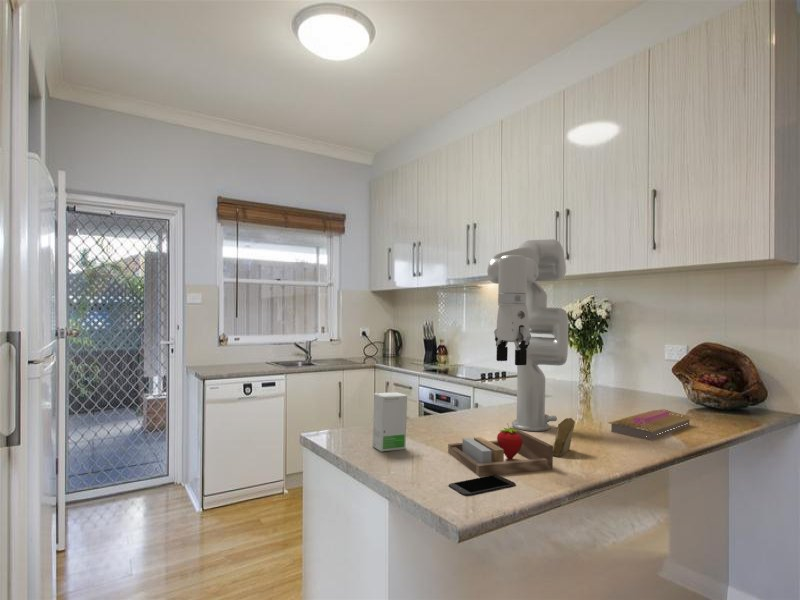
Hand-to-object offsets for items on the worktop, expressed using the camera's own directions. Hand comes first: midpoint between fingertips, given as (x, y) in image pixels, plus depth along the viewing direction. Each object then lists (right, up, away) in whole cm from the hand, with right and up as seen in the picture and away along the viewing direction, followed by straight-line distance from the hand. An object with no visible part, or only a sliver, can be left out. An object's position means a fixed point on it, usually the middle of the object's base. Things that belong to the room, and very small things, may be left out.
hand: (510, 362), depth 127 cm
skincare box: (-34, -26, +8) cm, 43 cm away
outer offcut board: (-10, -26, -3) cm, 28 cm away
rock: (+16, -27, +8) cm, 32 cm away
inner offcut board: (-7, -26, -2) cm, 27 cm away
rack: (-4, -26, -2) cm, 27 cm away
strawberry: (-1, -27, -1) cm, 26 cm away
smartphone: (-11, -26, -20) cm, 35 cm away
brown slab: (+59, -29, +37) cm, 76 cm away
